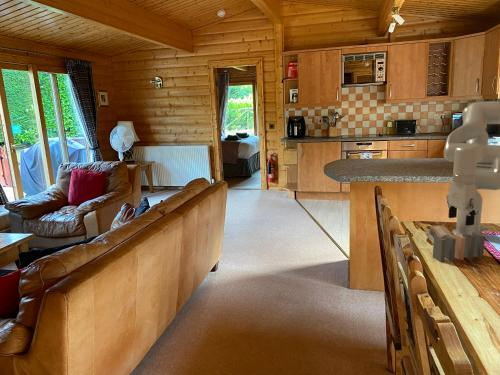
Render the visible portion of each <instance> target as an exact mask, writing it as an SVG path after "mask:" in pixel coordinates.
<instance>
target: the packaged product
mask: <svg viewBox="0 0 500 375" xmlns="http://www.w3.org/2000/svg"><path fill="white" fill-rule="evenodd" d="M425 235H426V236H427V238H428V239H429V241H430V242H431V243H432V244H434V236H439V237H441V238H444V235H449V236H451V237H453V233H452V232H450V231H449V230H448V229H447V228H446V226H443V225H430V226H429V230H426V231H425Z"/></svg>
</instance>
